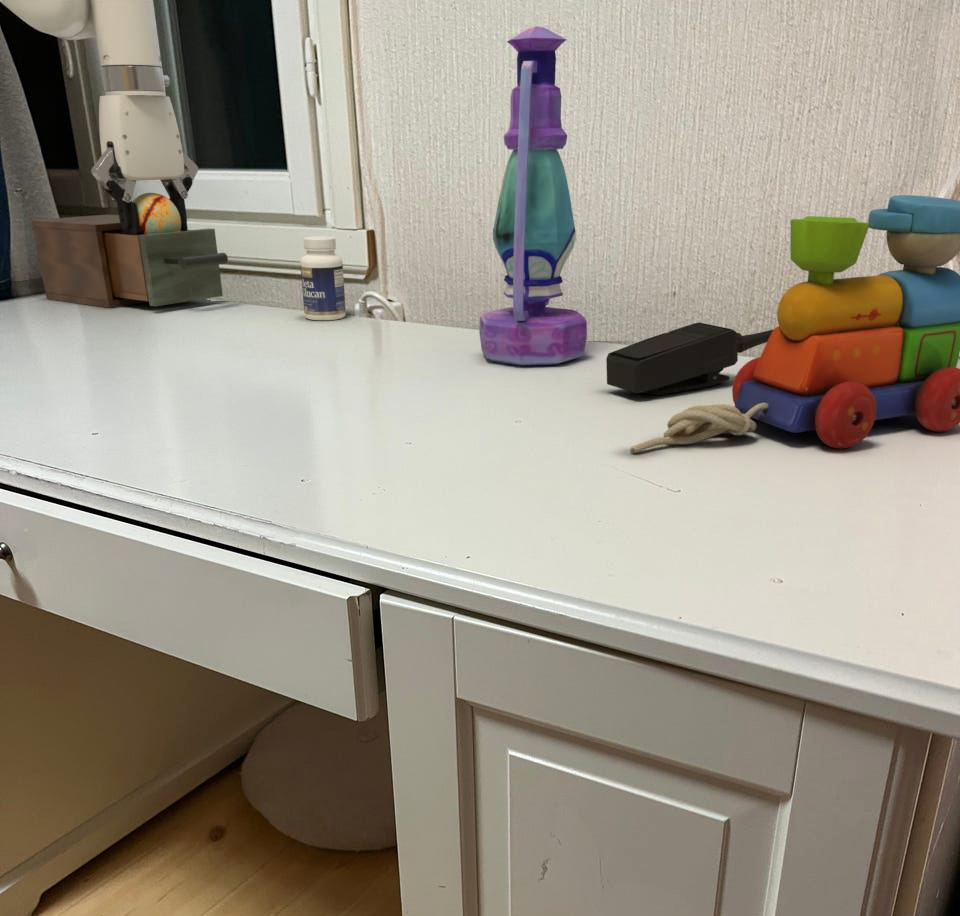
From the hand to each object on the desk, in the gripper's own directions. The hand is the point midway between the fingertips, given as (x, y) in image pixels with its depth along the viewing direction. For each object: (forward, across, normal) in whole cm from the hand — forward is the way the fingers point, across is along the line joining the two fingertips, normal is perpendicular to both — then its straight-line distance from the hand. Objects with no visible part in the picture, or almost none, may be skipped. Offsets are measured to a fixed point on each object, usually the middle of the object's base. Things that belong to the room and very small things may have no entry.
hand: (155, 231), depth 135 cm
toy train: (+10, +12, +98) cm, 99 cm away
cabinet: (+10, 0, -12) cm, 16 cm away
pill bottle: (+10, -5, +27) cm, 29 cm away
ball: (+2, 0, 0) cm, 2 cm away
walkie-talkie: (+10, +2, +84) cm, 84 cm away
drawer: (+9, 0, +1) cm, 9 cm away
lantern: (+10, +1, +64) cm, 64 cm away
